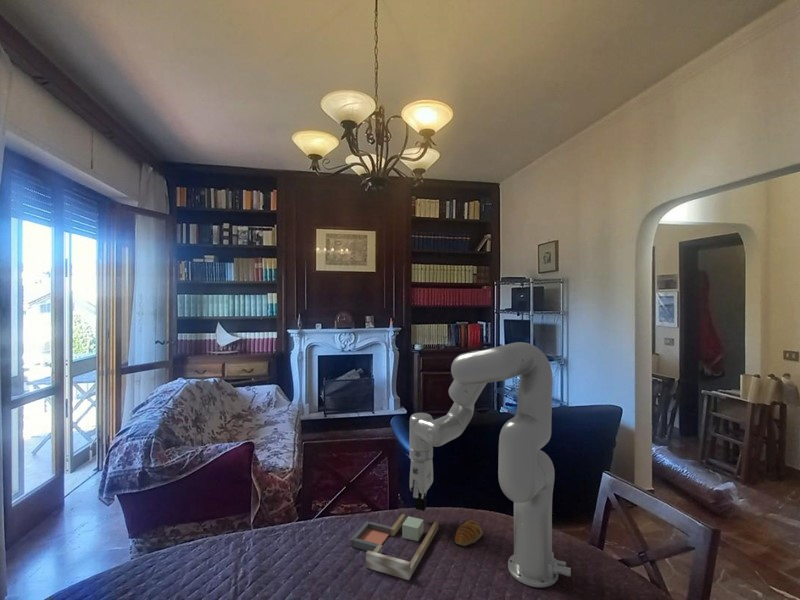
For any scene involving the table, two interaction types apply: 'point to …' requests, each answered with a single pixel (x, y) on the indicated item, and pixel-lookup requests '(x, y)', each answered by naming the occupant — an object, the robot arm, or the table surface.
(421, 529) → the block
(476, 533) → the pastry
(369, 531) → the tray
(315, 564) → the table surface
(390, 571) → the wooden channel walls
